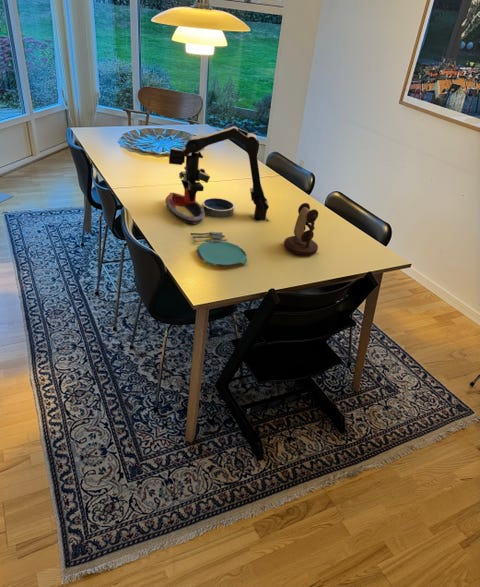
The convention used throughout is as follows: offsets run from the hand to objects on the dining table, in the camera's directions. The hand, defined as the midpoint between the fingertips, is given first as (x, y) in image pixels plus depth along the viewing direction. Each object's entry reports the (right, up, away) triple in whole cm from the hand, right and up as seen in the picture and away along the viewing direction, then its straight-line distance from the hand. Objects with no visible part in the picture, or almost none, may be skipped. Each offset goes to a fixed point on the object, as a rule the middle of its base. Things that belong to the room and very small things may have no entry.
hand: (189, 198), depth 210 cm
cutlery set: (+14, -27, -26) cm, 41 cm away
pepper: (0, -1, +1) cm, 1 cm away
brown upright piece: (+50, -25, -15) cm, 58 cm away
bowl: (+13, -5, +7) cm, 15 cm away
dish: (-3, -7, +1) cm, 8 cm away
